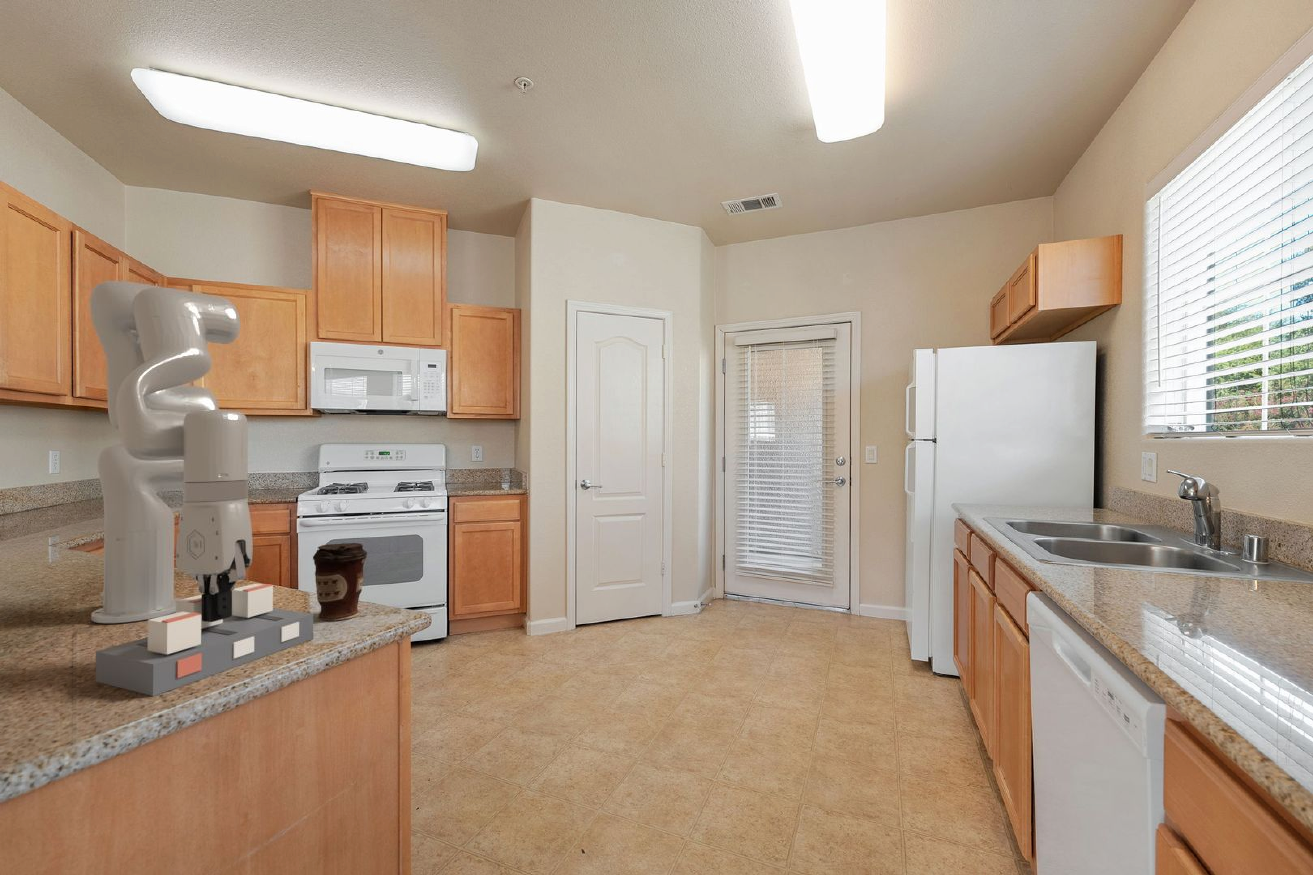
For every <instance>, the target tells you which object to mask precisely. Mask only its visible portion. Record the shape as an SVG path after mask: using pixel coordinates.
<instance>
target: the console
mask: <svg viewBox="0 0 1313 875" xmlns="http://www.w3.org/2000/svg"><path fill="white" fill-rule="evenodd" d="M313 639H314V613H308V612H303V611H295V610H289V609H284V608H279V607H273V611H270V612H266V613H263V614H259V615H256V616H252V617H249V618H246V617H240V616H234V615H232V616H231V617H229V618H225V619H223V623H220V624H217V625H213V626H210V627H206V628H203V629H201V644H200V645H196V646H193V647H190V648H187V649H183V650H180V651H177V652H174V653H170V654H162V653H158V652H153V651H148V636H145V637H143V638H140V639H135V640H132V641H129V642H125V643H122V644H117V645H114V646H111V647H106V648H103V649H100V650H96V651H95V682H96V683H100V684H104V685H109V686H111V687H116V688H119V689H120V688H121V689H124V690H127V691H130V692H135V693H139V694H143V695H147V696H150V697H155V696H158V695H161V694H163V693H167V692H169V691H171V690H175V689H177V688H180V687H183V686H186V685H188V684H192V683H194V682H197V681H200V680H203V679H206V678H207V677H211V676H213V675H216V674H218V673H222V672H224V671H227V670H230V669H233V668H235V667H239V666H242V665H244V664H247V663H249V662H252V661H256V660H258V659H261V658H263V657H267V656H269V655H272V654H275V653H277V652H279V651H280V652H281V651H282V650H283V651H284V650H286V649H289V648H291V647H294V646H297V645H300V644H302V643H305V642H309V641H311V640H313Z"/></svg>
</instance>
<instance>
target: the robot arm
mask: <svg viewBox="0 0 1313 875" xmlns="http://www.w3.org/2000/svg"><path fill="white" fill-rule="evenodd" d="M89 298H90V299H89V312H90V318H91V322H92V326H93V328H94V331H95V333H96V335H97V338H98V340H99V342H100V345H101V347H102V348H103V352H104V355H105V358H106V359H105V360H106V361H105V362H106V384H107V386H106V388H107V389H106V390H107V394H106V395H107V412H108V418H109V421H110V424H111V426H112V427H113V428H114V429H115V430H117V431H119V435H120V438H121V441H119V442H115V443H112V444H110V445H108V446H107V447H105V448H104V449H103V450H102V451H100V453H99V455H98V460H97V470H98V471H97V473H98V476H99V482H100V487H101V492H102V498H103V512H104V513H103V514H104V515H103V516H104V517H103V518H104V521H103V523H104V524H103V525H104V526H103V527H104V528H103V530H104V531H103V532H104V533H103V534H104V536H103V554H104V555H103V591H102V592H101V593H100V594H99V596H100V599H102V600H103V606H102V607H100V608H98V609H96V610H94V611H92V613H90V614H91V615H90V620H91V621H92V622H94V623H98V624H121V623H133V622H140V621H145V620H150V619H154V618H158V617H162V616H166V615H170V614H174V613H176V600H181V599H182V598H180V597H175V596H174V594H175V592H174V591H175V590H174V586H175V565H176V569H177V570H178V571H180V572H182V573H186V574H188V577H189V578H192V579H194V580H196V581H197V585H198V591H199V593H200V595H202V621H205V622H214V621H218V620H221V619H225V618H229V617H231V616H232V590H234V589H235V588H236V583H237V582H238V581H241V580H245V579H246V578H247V572H246V571H247V570H246V569H248V568H249V567H250V566H251V565H252V563H253V552H254V550H253V548H254V547H253V546H254V545H253V544H254V543H253V530H252V528H253V527H252V519H251V514H250V508H249V503H248V502H249V480H248V479H249V476H248V474H249V473H248V472H249V471H248V470H249V469H248V468H249V467H248V464H249V460H248V456H249V454H248V452H249V451H248V448H249V447H248V446H249V445H248V444H249V443H248V437H249V436H248V434H249V432H248V428H249V426H248V419H247V417H246V415H245V414H244V413H242V412H240V411H237V410H231V409H229V410H228V409H220V407H219V402H218V399H217V398H216V396H215V395H214V393H213V392H212V391H211V390H210V389H208V388H206V387H203V386H197V385H186V384H189V383H192V382H196V381H198V380H201V378H203V377H205V376H206V375H207V374H208V373H209V372H210V371H211V368H212V365H213V363H212V362H213V361H212V358H211V353H210V351H209V347H208V344H207V343H211V344H212V343H213V344H220V345H229V344H230V345H231V344H232V343H234V342H235V341H236V340H237V338H238V337H239V335H240V332H241V317H240V314H239V312H238V311H239V310H237V307H236V306H235V305H234V303H233V302H231V301H230V300H229V299H227V298H225V297H222V296H217V295H212V294H206V293H201V292H196V291H195V292H194V291H189V290H183V289H178V288H172V287H171V288H170V287H163V286H157V285H154V284H153V285H152V284H146V283H140V282H133V281H123V280H107V281H106V280H105V281H102V282H99V283H98V284H96V285H95V286H94V287H93V289H92V291H91V292H90V297H89ZM178 491H183V504H182V506H181V510H180V514H179V519H178V524H177V525H178V526H177V537H176V550H175V515H174V513H173V510H172V508H170V507H169V506H168V504H167V503H165V502H164V501H163V500H162V499H161V498H160V497H159V496H158V495H157V494H158V493H166V492H178Z"/></svg>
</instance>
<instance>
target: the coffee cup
mask: <svg viewBox="0 0 1313 875" xmlns="http://www.w3.org/2000/svg"><path fill="white" fill-rule="evenodd" d="M367 556H368V552H367V551H366V550H364V545H363V544H362V543H359V542H348V543H347V542H343V543H328V544H322V545H319V546H318V547H317V550H316V552H315V553H314V555H313V556H312V560H313V564H314V566H315V571H314V575H315V587H316V598H317V602H318V604H319V605H320V612H319V614H318V618H319V619H320V620H322V621H323V620H324V621H342V620H349V619H352V618H356V617H358V616H359V615H360V611H359V610H358V604H359V600H360V595H361V593H362V590H363V589H362V587H363V580H364V565H365V561H366V559H367Z"/></svg>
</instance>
